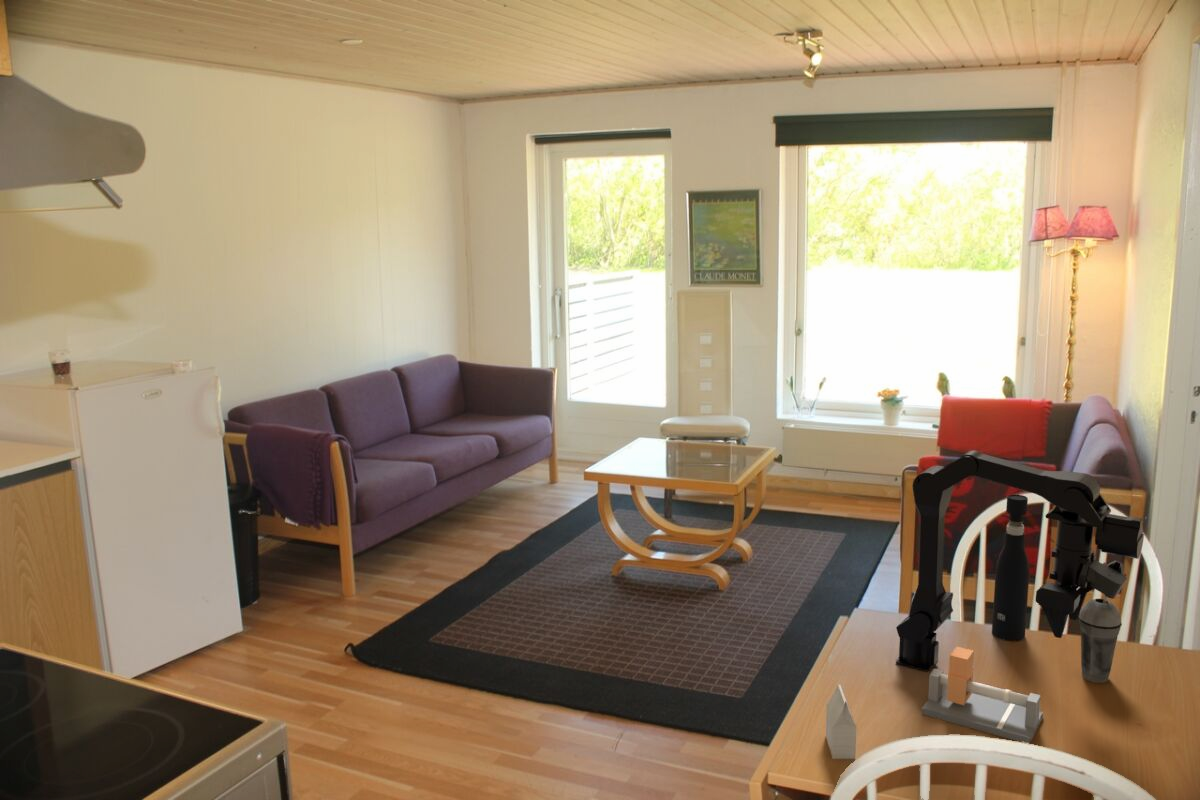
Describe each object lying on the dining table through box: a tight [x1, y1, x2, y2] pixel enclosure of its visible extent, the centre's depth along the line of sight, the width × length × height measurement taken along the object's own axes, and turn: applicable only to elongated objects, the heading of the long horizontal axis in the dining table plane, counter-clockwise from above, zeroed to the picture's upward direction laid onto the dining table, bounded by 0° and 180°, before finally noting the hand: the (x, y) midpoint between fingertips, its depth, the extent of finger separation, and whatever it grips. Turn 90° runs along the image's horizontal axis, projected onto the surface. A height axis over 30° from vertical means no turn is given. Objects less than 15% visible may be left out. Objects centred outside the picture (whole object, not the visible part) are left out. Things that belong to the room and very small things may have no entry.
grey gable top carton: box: [825, 683, 857, 760], centre depth 163 cm, size 4×7×10 cm, turn 176°
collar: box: [947, 646, 975, 705], centre depth 173 cm, size 3×5×8 cm, turn 144°
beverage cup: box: [1078, 595, 1122, 684], centre depth 183 cm, size 7×7×20 cm
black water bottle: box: [991, 493, 1031, 642], centre depth 200 cm, size 6×6×30 cm
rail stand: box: [921, 668, 1044, 744], centre depth 172 cm, size 18×10×6 cm, turn 55°
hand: (1065, 628), depth 174 cm, fingers open, 9 cm apart
